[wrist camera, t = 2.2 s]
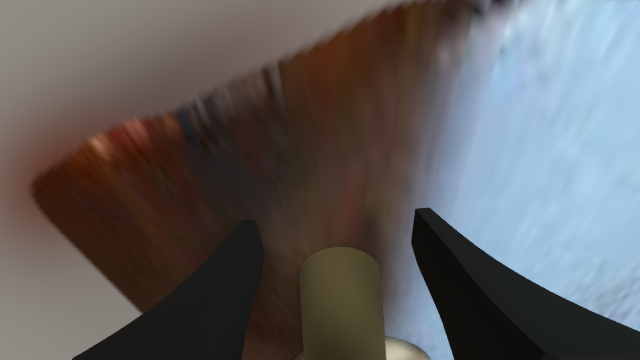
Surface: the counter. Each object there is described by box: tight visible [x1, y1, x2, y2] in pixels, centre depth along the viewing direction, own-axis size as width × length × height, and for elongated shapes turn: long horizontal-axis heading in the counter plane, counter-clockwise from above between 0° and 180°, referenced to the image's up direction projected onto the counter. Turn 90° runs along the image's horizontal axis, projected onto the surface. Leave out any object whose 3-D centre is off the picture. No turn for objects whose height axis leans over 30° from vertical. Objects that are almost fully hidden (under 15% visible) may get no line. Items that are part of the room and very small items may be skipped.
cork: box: [299, 247, 387, 360], centre depth 15 cm, size 6×6×11 cm
